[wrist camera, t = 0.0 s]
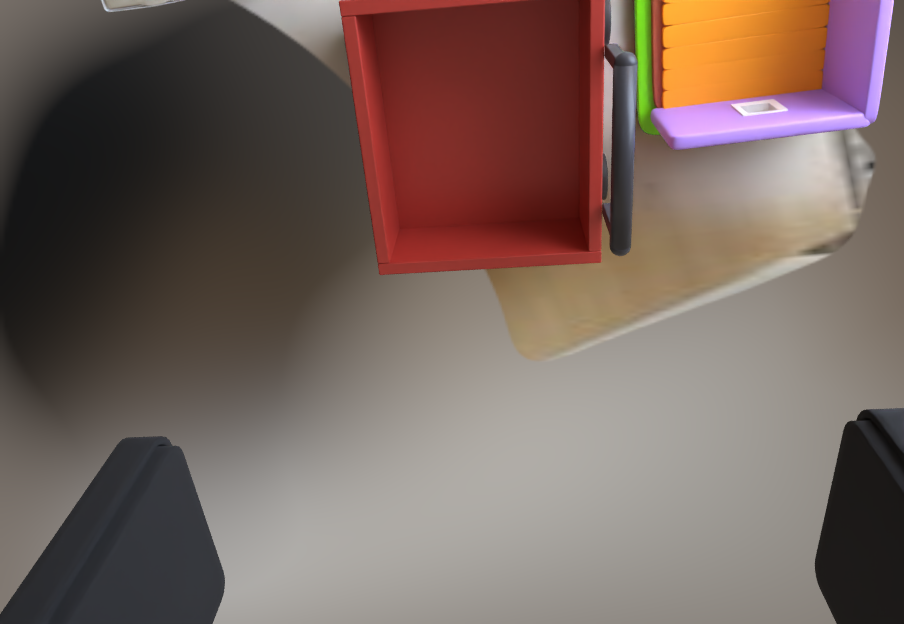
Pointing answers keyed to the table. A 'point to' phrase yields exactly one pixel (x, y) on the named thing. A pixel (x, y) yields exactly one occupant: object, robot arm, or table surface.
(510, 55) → the cart
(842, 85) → the miniature room corner
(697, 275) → the table surface
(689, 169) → the table surface
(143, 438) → the robot arm
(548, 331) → the table surface
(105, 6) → the white carton box
